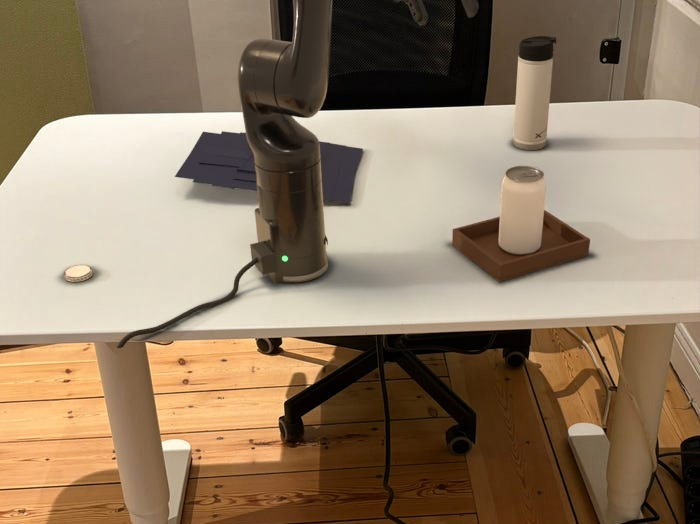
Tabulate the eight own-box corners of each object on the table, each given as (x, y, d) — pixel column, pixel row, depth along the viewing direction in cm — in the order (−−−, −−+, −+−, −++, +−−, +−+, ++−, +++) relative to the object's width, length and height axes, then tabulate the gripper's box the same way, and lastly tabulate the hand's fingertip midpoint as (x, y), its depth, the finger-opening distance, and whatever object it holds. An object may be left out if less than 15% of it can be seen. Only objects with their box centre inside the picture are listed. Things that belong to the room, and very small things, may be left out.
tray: (499, 282, 135) (500, 265, 134) (452, 245, 145) (452, 229, 143) (588, 255, 141) (590, 239, 140) (537, 221, 151) (538, 205, 149)
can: (491, 240, 145) (495, 167, 138) (530, 233, 146) (535, 162, 139) (508, 259, 140) (512, 185, 133) (547, 252, 141) (554, 179, 134)
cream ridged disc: (82, 265, 140) (81, 261, 140) (98, 273, 138) (97, 269, 138) (59, 275, 138) (58, 272, 138) (75, 284, 136) (74, 280, 135)
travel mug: (546, 151, 175) (555, 43, 163) (511, 149, 176) (517, 41, 164) (548, 139, 180) (557, 33, 168) (514, 137, 181) (521, 31, 169)
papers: (205, 141, 177) (205, 123, 175) (362, 161, 177) (363, 143, 175) (172, 196, 157) (171, 176, 155) (348, 218, 158) (350, 199, 155)
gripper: (376, -91, 134) (416, 10, 132) (461, -100, 139) (500, -3, 138) (361, -57, 141) (398, 39, 139) (442, -67, 146) (479, 25, 144)
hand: (449, 18), depth 138 cm, fingers open, 8 cm apart
